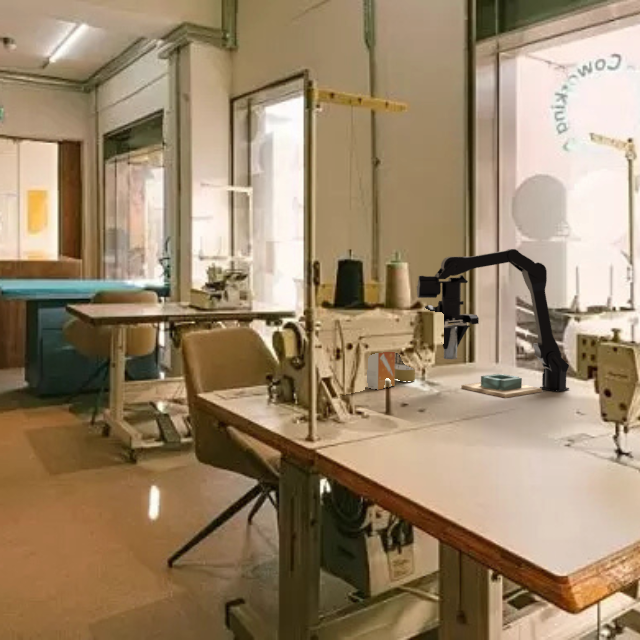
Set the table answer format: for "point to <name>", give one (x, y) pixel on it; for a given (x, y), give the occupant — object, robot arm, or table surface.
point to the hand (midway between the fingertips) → (450, 348)
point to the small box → (380, 369)
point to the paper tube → (403, 370)
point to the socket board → (501, 392)
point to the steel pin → (451, 344)
